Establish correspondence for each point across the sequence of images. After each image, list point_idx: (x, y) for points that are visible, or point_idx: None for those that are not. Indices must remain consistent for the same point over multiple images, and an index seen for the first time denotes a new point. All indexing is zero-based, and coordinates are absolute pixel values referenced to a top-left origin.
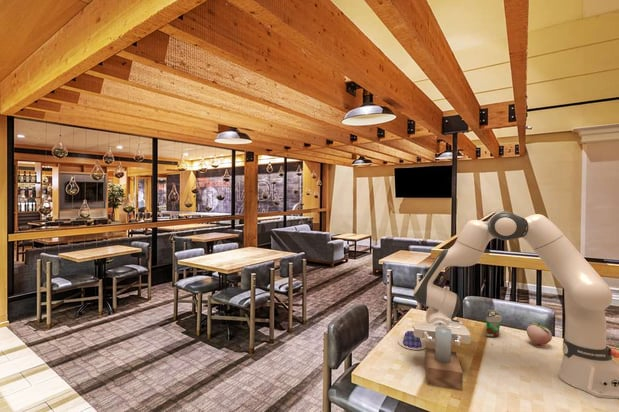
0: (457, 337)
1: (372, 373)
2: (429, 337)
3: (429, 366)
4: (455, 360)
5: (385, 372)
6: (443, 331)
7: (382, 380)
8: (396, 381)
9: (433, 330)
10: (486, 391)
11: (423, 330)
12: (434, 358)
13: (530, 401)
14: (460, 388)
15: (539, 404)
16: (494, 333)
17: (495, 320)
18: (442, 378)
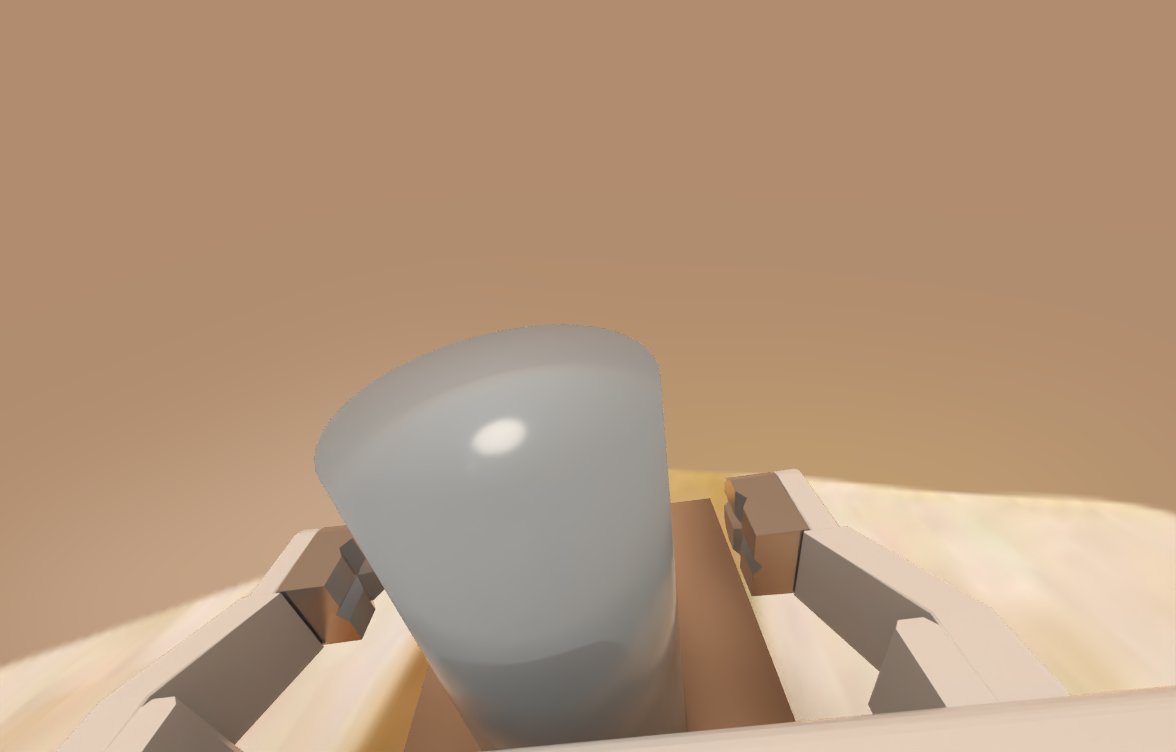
0: (185, 711)
1: (1132, 560)
2: (762, 476)
3: (704, 515)
4: (439, 750)
5: (1078, 617)
6: (517, 346)
7: (982, 513)
8: (902, 537)
9: (770, 740)
10: (343, 658)
11: (1098, 694)
12: (687, 692)
13: (143, 650)
14: None
15: (121, 638)
16: None
17: None
18: None
